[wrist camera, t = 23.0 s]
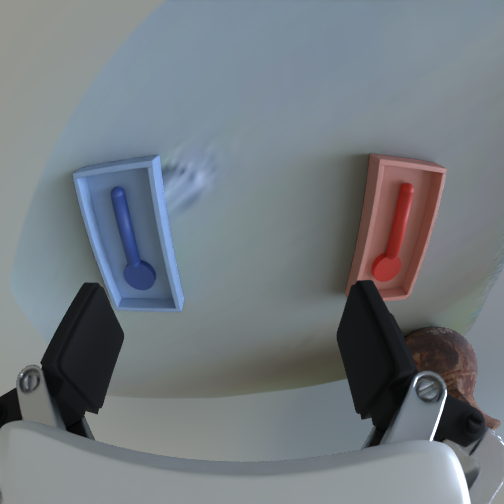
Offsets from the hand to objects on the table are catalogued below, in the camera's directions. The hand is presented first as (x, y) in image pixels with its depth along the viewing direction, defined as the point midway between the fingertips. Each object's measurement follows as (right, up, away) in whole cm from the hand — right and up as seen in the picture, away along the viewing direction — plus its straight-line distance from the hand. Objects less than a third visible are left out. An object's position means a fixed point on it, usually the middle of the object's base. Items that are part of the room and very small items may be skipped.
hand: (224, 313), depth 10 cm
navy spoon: (-12, +4, +18) cm, 22 cm away
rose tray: (+18, +5, +20) cm, 27 cm away
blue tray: (-12, +4, +19) cm, 23 cm away
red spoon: (+18, +4, +19) cm, 26 cm away
